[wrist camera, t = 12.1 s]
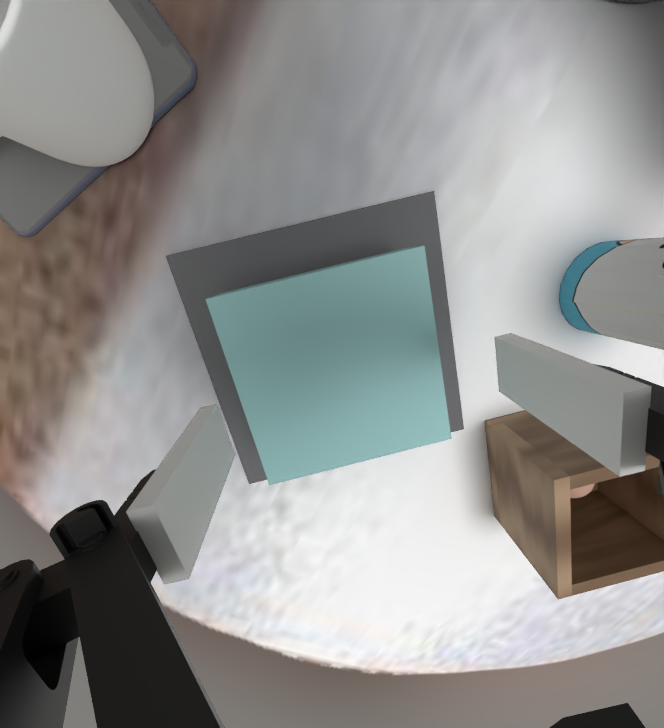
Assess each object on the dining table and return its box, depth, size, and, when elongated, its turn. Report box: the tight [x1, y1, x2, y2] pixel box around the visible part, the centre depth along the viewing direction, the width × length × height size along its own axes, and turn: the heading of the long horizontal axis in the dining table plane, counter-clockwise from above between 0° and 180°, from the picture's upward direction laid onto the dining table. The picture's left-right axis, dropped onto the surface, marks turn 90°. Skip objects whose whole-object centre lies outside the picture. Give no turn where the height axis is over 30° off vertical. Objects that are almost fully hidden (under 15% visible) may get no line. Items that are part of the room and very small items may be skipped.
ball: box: [570, 483, 595, 498], centre depth 27 cm, size 3×3×3 cm
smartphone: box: [0, 0, 197, 237], centre depth 19 cm, size 8×1×15 cm
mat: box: [166, 191, 464, 484], centre depth 25 cm, size 18×18×1 cm
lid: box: [206, 246, 451, 485], centre depth 22 cm, size 12×12×5 cm
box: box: [485, 411, 664, 599], centre depth 26 cm, size 10×10×8 cm
